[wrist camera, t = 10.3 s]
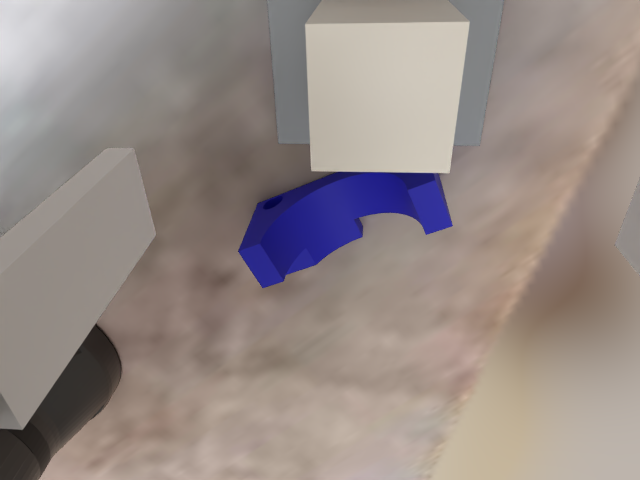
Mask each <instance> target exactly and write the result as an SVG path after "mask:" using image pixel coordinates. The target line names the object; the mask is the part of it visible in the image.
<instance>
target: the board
mask: <svg viewBox="0 0 640 480" xmlns="http://www.w3.org/2000/svg"><path fill="white" fill-rule="evenodd" d="M321 1H322V0H267V6H268V18H269V31H270V44H271V56H272V69H273V82H274V95H275V107H276V120H277V133H278V144H310V130H309V106H308V82H307V58H306V34H305V23H306V22H307V21H308V19H309V18H310V16H311V15H312V13H313V12H314V11H315V9H316V8H317V6H318V5H319V3H320V2H321ZM448 1H449V2H450V3H451V4H452V5H453V6H454V7H455V8H456V9H457V10H458V11H459V12H461V13H462V14H463V15H464V16H465V17H466V18H467V19H468V20H469V21H470V24H469V32H468V39H467V47H466V54H465V62H464V69H463V76H462V84H461V91H460V99H459V106H458V114H457V121H456V128H455V136H454V143H453V146H480V141H481V135H482V129H483V123H484V117H485V111H486V106H487V100H488V94H489V88H490V82H491V76H492V70H493V64H494V58H495V52H496V46H497V40H498V35H499V29H500V23H501V17H502V11H503V5H504V0H448Z"/></svg>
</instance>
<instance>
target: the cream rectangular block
mask: <svg viewBox="0 0 640 480" xmlns="http://www.w3.org/2000/svg"><path fill="white" fill-rule="evenodd" d="M469 24H470V21H469V20H468V19H467V18H466V17H465V16H464V15H463V14H462V13H461V12H459V11H458V10H457V9H456V8H455V7H454V6H453V5H452V4H451V3H450V2H449V1H448V0H322V1H321V2H320V3H319V5H318V6H317V8H316V9H315V11H314V12H313V13H312V15H311V16H310V18H309V19H308V21H307V22H306V23H305V34H306V58H307V82H308V106H309V130H310V154H311V171H335V172H403V173H450V166H451V158H452V151H453V143H454V136H455V128H456V121H457V114H458V106H459V99H460V91H461V84H462V76H463V69H464V62H465V54H466V47H467V39H468V32H469Z"/></svg>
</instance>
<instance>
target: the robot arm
mask: <svg viewBox="0 0 640 480" xmlns="http://www.w3.org/2000/svg"><path fill="white" fill-rule="evenodd" d="M155 236H156V232H155V228H154V224H153V220H152V216H151V212H150V208H149V204H148V200H147V196H146V192H145V188H144V185H143V181H142V177H141V173H140V169H139V165H138V161H137V157H136V153H135V149H134V148H106V149H105V150H104V151H103V152H101V153H100V154H99V155H98V156H97V157H95V158H94V159H93V160H92V161H91V162H90V163H88V164H87V165H86V166H85V167H84V168H82V169H81V170H80V171H79V172H78V173H76V174H75V175H74V176H73V177H72V178H71V179H69V180H68V181H67V182H66V183H65V184H63V185H62V186H61V187H60V188H59V189H57V190H56V191H55V192H54V193H53V194H52V195H50V196H49V197H48V198H47V199H46V200H44V201H43V202H42V203H41V204H40V205H38V206H37V207H36V208H35V209H34V210H33V211H31V212H30V213H29V214H28V215H27V216H25V217H24V218H23V219H22V220H21V221H20V222H18V223H17V224H16V225H15V226H14V227H12V228H11V229H10V230H9V231H8V232H6V233H5V234H4V235H3V236H2V237H1V238H0V480H39V478H40V477H41V475H42V473H43V472H44V470H45V468H46V467H47V465H48V463H49V462H50V460H51V459H52V457H53V456H54V455H55V453H57V452H58V451H59V450H60V449H61V448H62V447H63V446H64V445H65V444H66V443H67V442H68V441H69V440H70V439H71V438H72V437H73V436H74V435H75V434H76V433H77V432H78V431H79V430H80V429H81V428H82V427H83V426H84V425H85V424H86V423H87V422H88V421H89V420H91V419H92V418H94V417H95V416H96V415H97V414H99V413H100V412H101V411H102V410H103V409H104V407H105V406H106V405H107V403H108V402H109V400H110V398H111V396H112V395H113V393H114V391H115V389H116V387H117V386H118V384H119V381H120V376H121V367H120V362H119V359H118V356H117V353H116V351H115V350H114V348H113V346H112V344H111V343H110V342H109V340H108V339H107V338H106V336H105V335H104V334H103V333H102V332H101V331H100V330H99V329H98V328H97V327H96V326H95V324H96V322H97V321H98V319H99V318H100V316H101V315H102V313H103V312H104V311H105V309H106V308H107V306H108V305H109V303H110V302H111V300H112V299H113V297H114V296H115V294H116V293H117V292H118V290H119V289H120V287H121V286H122V284H123V283H124V281H125V280H126V278H127V277H128V275H129V274H130V273H131V271H132V270H133V268H134V267H135V265H136V264H137V262H138V261H139V259H140V258H141V257H142V255H143V254H144V252H145V251H146V249H147V248H148V246H149V245H150V243H151V242H152V240H153V239H154V238H155ZM615 246H616V247H617V249H618V250H619V251H620V252H621V253H622V255H623V256H624V257H625V258H626V260H627V261H628V262H629V264H630V265H631V266H632V267H633V269H634V270H635V271H636V272H637V274H638V275H639V276H640V179H639V182H638V184H637V187H636V189H635V192H634V195H633V197H632V200H631V203H630V205H629V208H628V211H627V213H626V216H625V218H624V221H623V224H622V226H621V229H620V232H619V234H618V237H617V240H616V243H615Z"/></svg>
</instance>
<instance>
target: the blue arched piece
mask: <svg viewBox="0 0 640 480" xmlns="http://www.w3.org/2000/svg"><path fill="white" fill-rule="evenodd" d="M377 213H400V214H405V215H408V216H410V217H413V218H414V219H416V220H417V221H419V222H420V223H421V225H422V226H423V229H424V231H425V233H426V235H427V234H430V233H433V232H436V231H439V230H442V229H445V228H448V227H451V226H453V225H452V221H451V218H450V214H449V210H448V206H447V203H446V199H445V195H444V191H443V188H442V184H441V180H440V177H439V174H438V173H403V172H336V173H334V174H331V175H329V176H326V177H324V178H321V179H319V180H316V181H313V182H311V183H308V184H306V185H303V186H301V187H298V188H296V189H293V190H290V191H288V192H285V193H283V194H280V195H278V196H275V197H273V198H270V199H267V200H265V201H262V202H260V203H258V204H257V207H256V209H255V211H254V214H253V216H252V219H251V221H250V224H249V226H248V228H247V231H246V233H245V236H244V238H243V241H242V243H241V246H240V248H239V250H238V252H239V253H240V255H241V256H242V258H243V259H244V261H245V262H246V264H247V265H248V267H249V268H250V270H251V271H252V273H253V274H254V276H255V277H256V279H257V280H258V282H259V283H260V285H261V286H262V288H265V287H268V286H271V285H274V284H277V283H280V282H283V281H284V279H285V276H286V275H287V274H290V273H293V272H296V271H299V270H302V269H305V268H308V267H311V266H314V265H316V264H317V263H319V262H320V261H321V260H322V259H323V258H325V257H326V256H327V255H329V254H330V253H331V252H333V251H334V250H336V249H338V248H339V247H341V246H343V245H345V244H347V243H349V242H351V241H353V240H356V239H358V238H361V237H363V226H362V224H361V222H360V220H359V218H360V217H363V216H367V215H371V214H377Z"/></svg>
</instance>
